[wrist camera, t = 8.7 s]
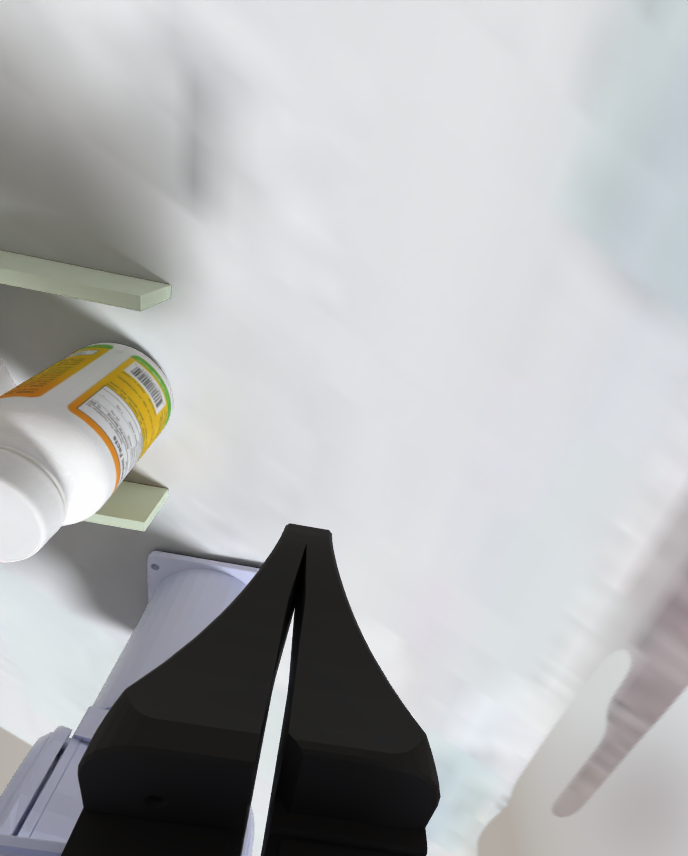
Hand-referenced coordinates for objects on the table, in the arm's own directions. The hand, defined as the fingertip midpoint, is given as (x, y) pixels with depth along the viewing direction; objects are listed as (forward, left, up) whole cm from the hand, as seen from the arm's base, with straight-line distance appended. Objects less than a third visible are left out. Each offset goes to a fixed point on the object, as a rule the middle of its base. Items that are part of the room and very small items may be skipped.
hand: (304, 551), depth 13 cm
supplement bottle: (-1, +11, -10) cm, 15 cm away
